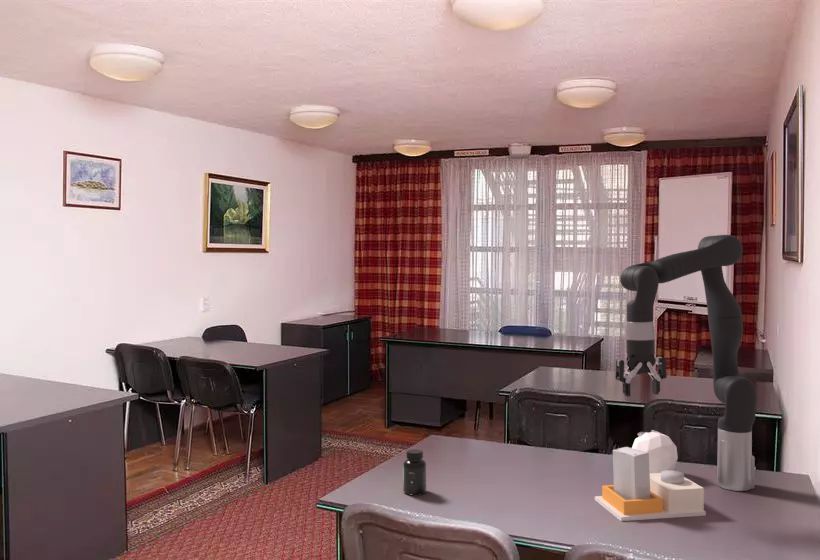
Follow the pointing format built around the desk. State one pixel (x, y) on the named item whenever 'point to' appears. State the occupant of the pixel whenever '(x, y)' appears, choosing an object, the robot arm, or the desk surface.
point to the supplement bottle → (414, 473)
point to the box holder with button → (657, 499)
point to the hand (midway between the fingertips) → (641, 395)
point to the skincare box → (631, 473)
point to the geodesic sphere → (657, 450)
